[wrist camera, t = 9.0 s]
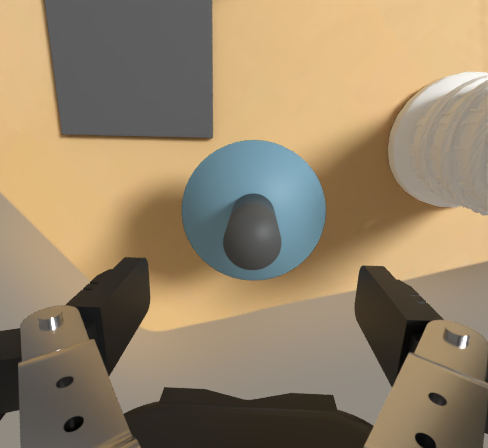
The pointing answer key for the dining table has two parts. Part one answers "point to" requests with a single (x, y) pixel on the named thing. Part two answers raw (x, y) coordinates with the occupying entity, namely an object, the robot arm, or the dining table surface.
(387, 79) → the dining table surface
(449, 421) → the robot arm
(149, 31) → the mat
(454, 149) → the decorative container
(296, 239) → the lid
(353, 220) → the dining table surface
